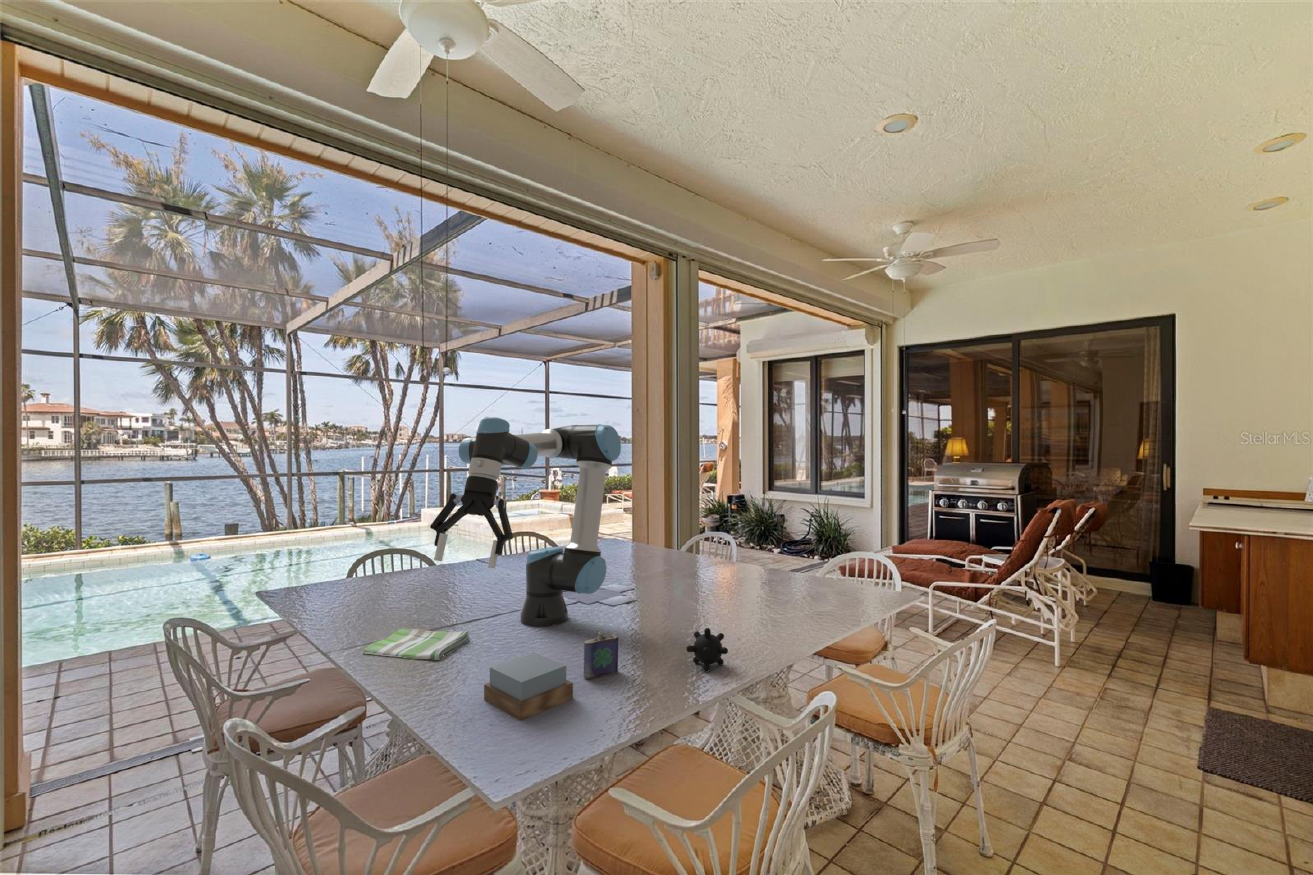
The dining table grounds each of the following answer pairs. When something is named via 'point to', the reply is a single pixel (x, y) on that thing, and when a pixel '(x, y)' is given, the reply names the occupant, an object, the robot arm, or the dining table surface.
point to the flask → (600, 656)
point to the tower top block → (527, 676)
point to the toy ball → (707, 648)
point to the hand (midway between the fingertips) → (464, 564)
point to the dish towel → (420, 643)
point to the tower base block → (528, 700)
